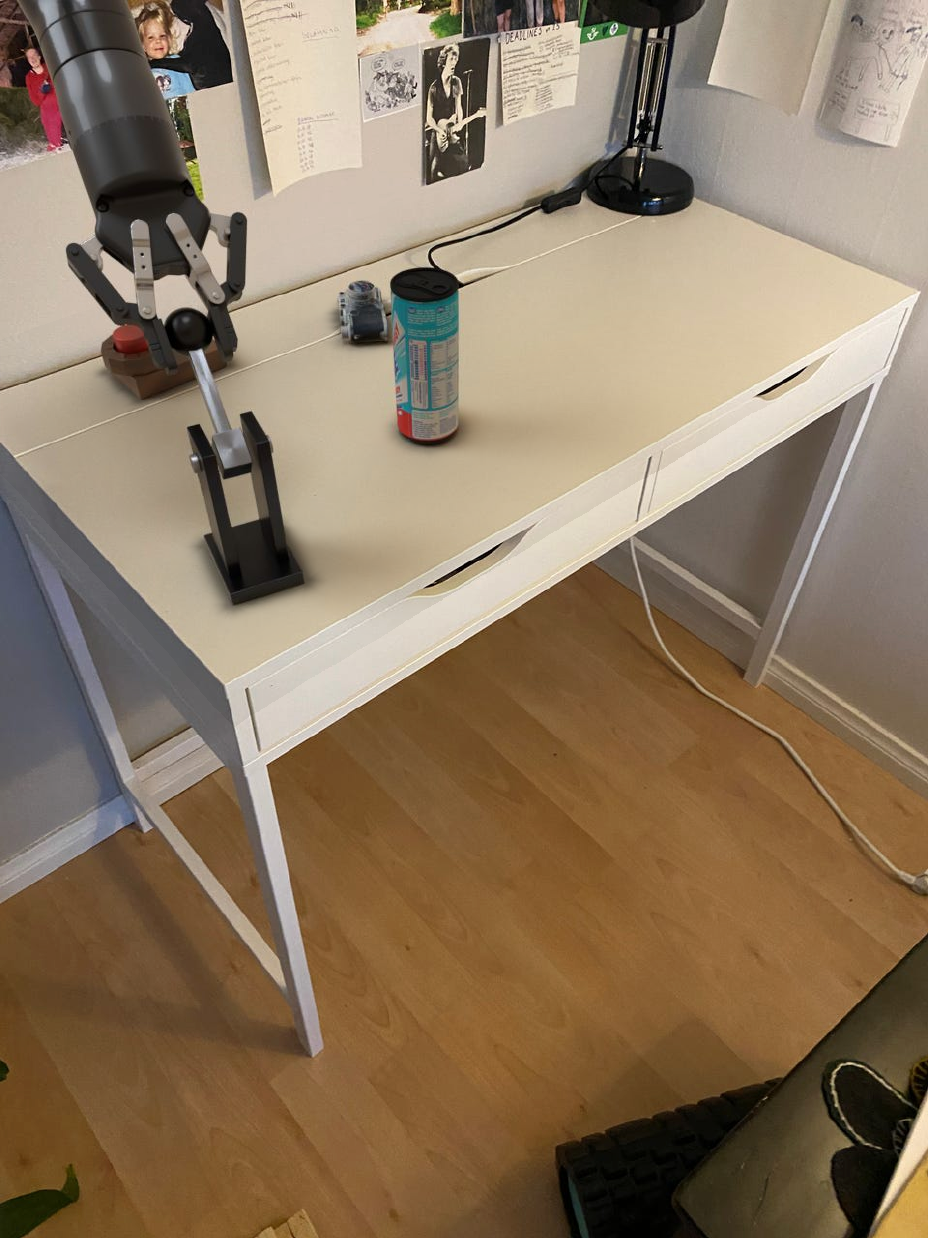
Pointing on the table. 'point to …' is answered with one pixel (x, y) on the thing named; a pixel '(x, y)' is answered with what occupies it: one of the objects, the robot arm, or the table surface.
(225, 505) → the bracket
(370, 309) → the camera
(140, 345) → the button
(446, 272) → the beverage can
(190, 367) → the button block
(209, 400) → the lever
